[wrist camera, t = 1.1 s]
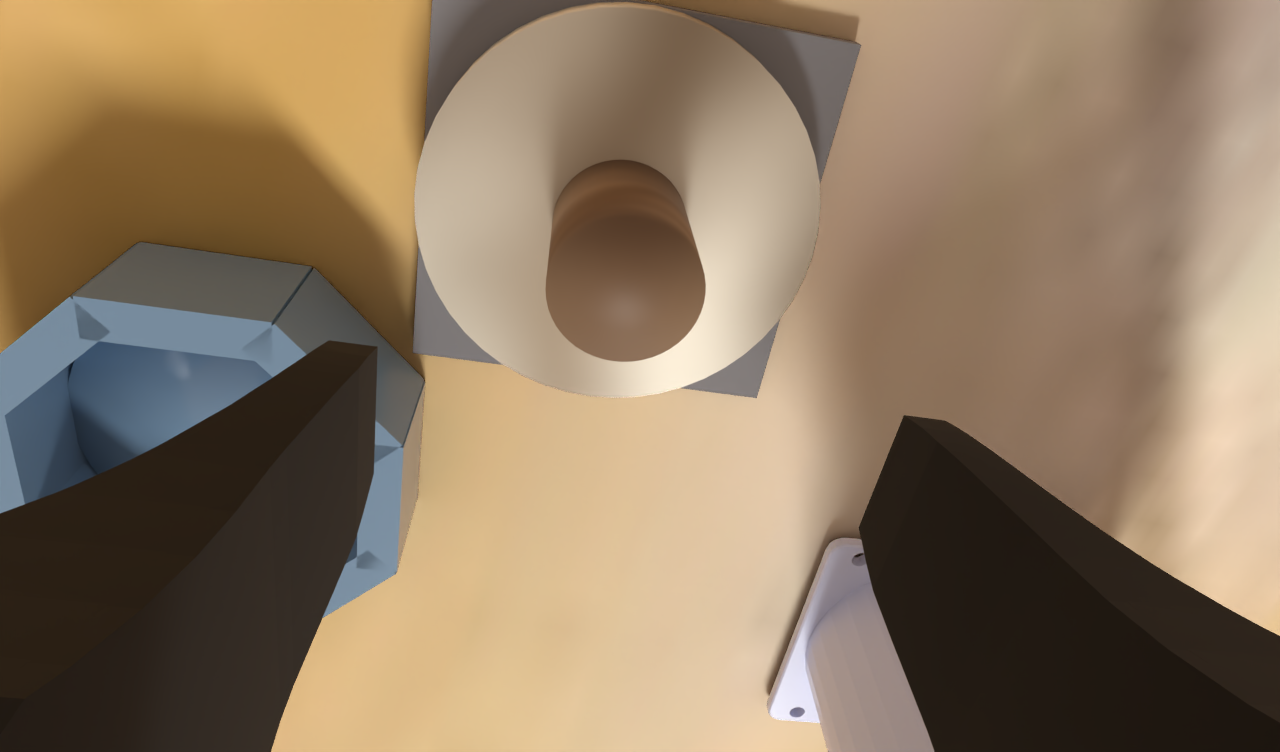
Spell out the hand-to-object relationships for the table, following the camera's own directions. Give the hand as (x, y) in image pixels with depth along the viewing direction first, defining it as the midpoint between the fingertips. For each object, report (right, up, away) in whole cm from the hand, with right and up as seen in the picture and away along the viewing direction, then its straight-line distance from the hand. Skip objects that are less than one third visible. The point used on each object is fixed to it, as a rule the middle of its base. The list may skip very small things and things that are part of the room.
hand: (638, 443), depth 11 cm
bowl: (-11, 0, +11) cm, 15 cm away
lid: (-1, +5, +8) cm, 9 cm away
